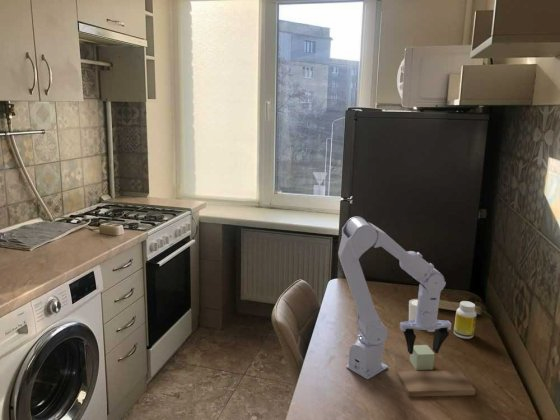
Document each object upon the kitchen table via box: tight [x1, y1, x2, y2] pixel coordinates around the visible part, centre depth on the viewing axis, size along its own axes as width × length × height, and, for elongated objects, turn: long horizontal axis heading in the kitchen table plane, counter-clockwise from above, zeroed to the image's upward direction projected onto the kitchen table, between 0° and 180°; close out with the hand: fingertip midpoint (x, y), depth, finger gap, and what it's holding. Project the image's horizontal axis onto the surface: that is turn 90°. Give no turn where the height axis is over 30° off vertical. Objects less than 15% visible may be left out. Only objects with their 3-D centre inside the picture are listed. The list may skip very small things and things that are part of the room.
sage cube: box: [409, 344, 436, 371], centre depth 135 cm, size 5×5×5 cm
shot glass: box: [408, 298, 418, 321], centre depth 162 cm, size 7×7×7 cm
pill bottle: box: [453, 300, 477, 340], centre depth 153 cm, size 6×6×11 cm
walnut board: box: [396, 370, 476, 398], centre depth 126 cm, size 9×18×2 cm, turn 95°
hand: (422, 351), depth 135 cm, fingers open, 7 cm apart
